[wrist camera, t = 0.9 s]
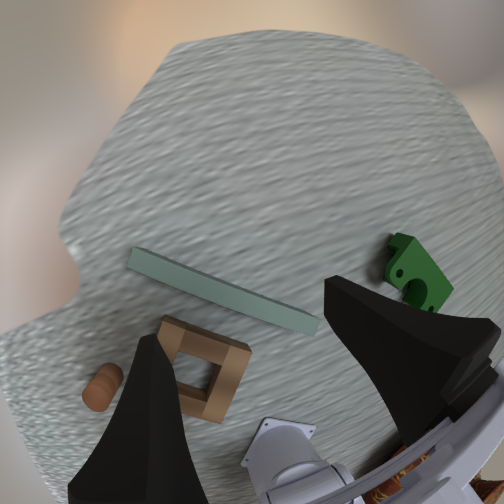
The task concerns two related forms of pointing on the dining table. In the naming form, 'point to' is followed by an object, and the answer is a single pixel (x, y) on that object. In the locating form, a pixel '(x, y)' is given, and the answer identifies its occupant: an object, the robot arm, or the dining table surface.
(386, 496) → the jug
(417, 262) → the clamp
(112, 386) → the dowel
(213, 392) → the square frame
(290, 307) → the wall
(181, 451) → the robot arm
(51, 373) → the dining table surface
